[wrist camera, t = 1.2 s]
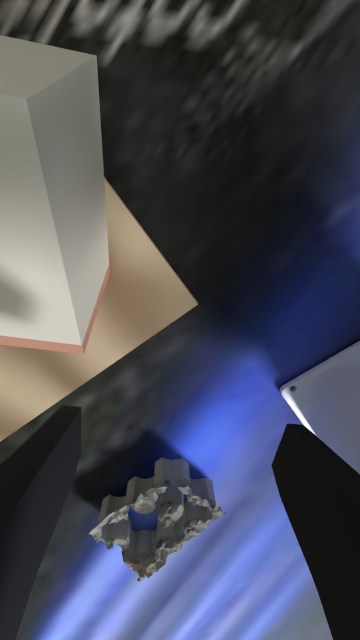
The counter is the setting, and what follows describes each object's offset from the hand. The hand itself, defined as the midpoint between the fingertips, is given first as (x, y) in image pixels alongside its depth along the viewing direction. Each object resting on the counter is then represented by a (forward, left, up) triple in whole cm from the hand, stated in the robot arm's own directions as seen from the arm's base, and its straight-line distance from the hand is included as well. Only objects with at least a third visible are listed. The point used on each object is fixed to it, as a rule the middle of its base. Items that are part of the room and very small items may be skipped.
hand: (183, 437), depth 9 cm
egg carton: (+12, +13, -11) cm, 21 cm away
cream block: (+4, -6, -7) cm, 10 cm away
